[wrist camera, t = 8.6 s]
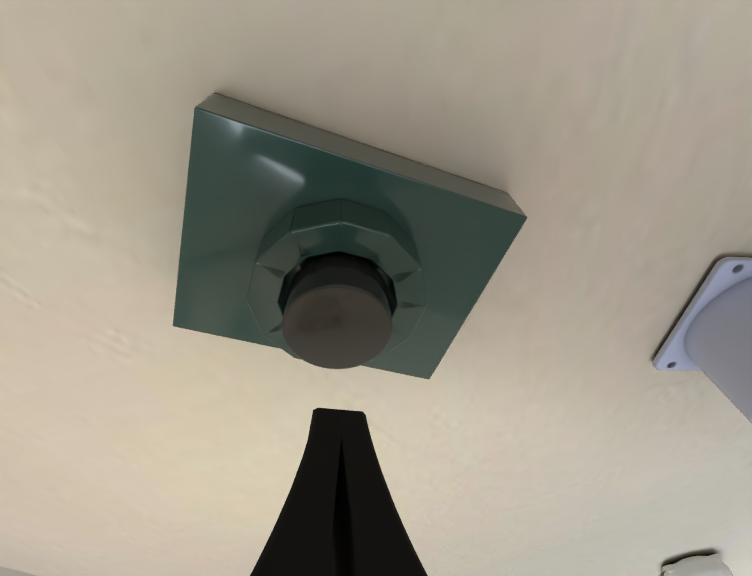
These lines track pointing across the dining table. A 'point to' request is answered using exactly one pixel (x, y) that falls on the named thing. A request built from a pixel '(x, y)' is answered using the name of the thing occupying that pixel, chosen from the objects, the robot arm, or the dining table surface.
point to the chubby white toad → (698, 567)
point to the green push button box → (329, 231)
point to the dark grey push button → (337, 313)
